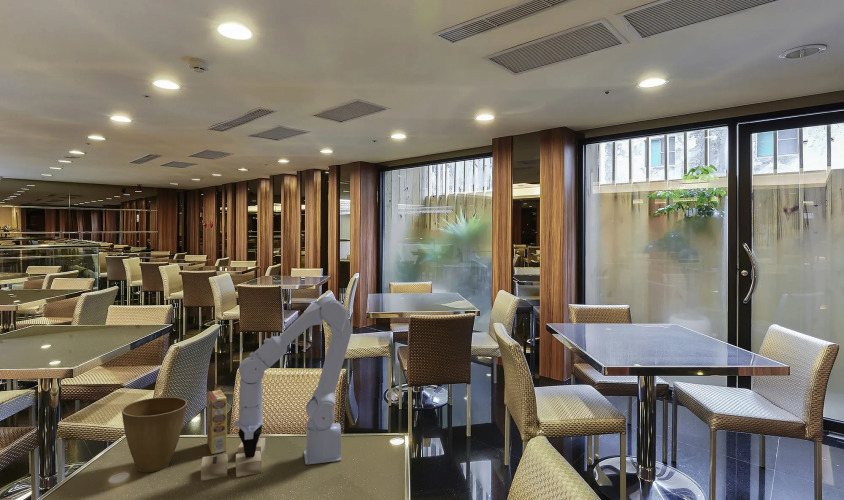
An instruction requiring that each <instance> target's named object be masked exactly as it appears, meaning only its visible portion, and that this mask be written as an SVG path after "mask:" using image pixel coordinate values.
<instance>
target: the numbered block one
mask: <svg viewBox="0 0 844 500" xmlns="http://www.w3.org/2000/svg"><path fill="white" fill-rule="evenodd" d="M228 461H229V460H228V453H224V454H223V453H222V454H217V455H215V454H213V455H207V456H202V460H201V464H200V481H205V480H212V479H219V478H220V479H221V478H226V477H228V466H229V464H228V463H229V462H228Z"/></svg>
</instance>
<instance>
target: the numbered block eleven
mask: <svg viewBox="0 0 844 500" xmlns="http://www.w3.org/2000/svg"><path fill="white" fill-rule="evenodd" d="M238 445H239V446H238V447H237V454H241V453H245V452H244V447H243V443H242V441H241V442H240V444H238ZM265 450H266V437H259V439H258V441H257V446H256V451H260V454H261V458H262V456H263V455H264V452H265Z"/></svg>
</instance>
